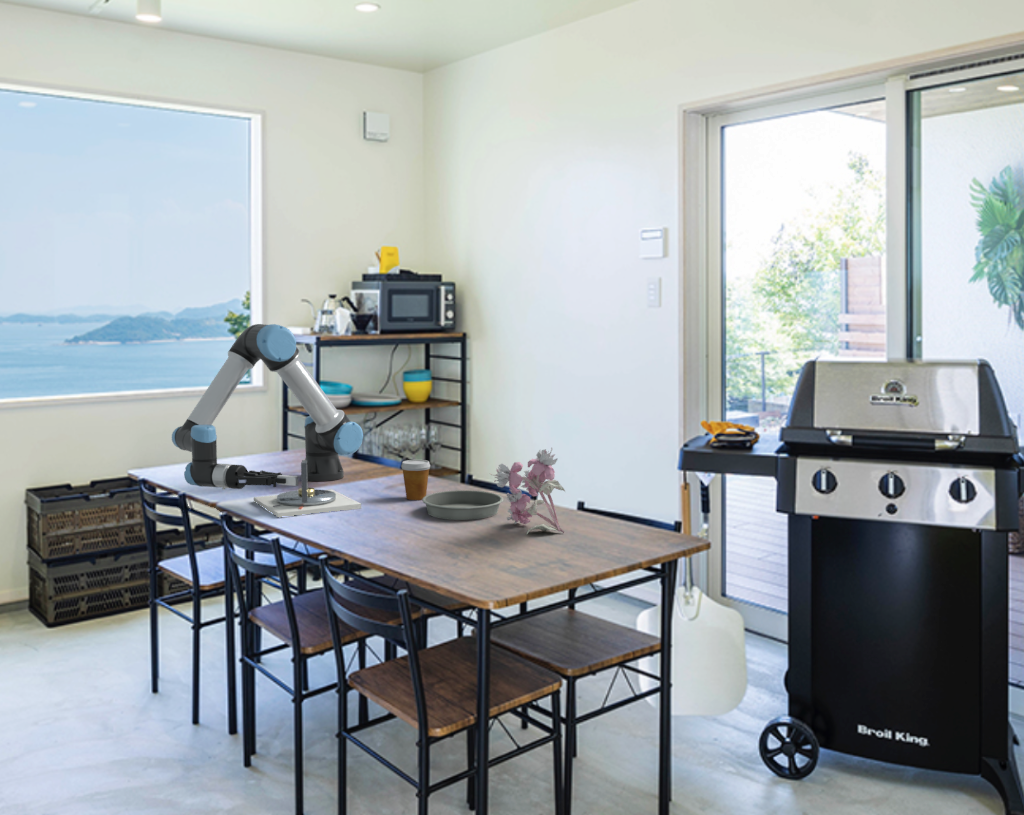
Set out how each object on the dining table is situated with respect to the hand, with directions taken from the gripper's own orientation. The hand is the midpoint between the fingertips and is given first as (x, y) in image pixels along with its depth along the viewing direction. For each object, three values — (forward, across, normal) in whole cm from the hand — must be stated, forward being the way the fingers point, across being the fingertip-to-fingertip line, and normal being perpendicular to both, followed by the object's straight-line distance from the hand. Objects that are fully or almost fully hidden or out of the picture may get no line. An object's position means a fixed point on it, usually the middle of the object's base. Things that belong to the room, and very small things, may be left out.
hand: (296, 481), depth 287 cm
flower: (+74, -1, -9) cm, 75 cm away
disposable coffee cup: (+27, -28, -9) cm, 40 cm away
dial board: (-1, -7, -9) cm, 12 cm away
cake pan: (+49, -14, -10) cm, 52 cm away
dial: (-1, -6, -7) cm, 10 cm away
